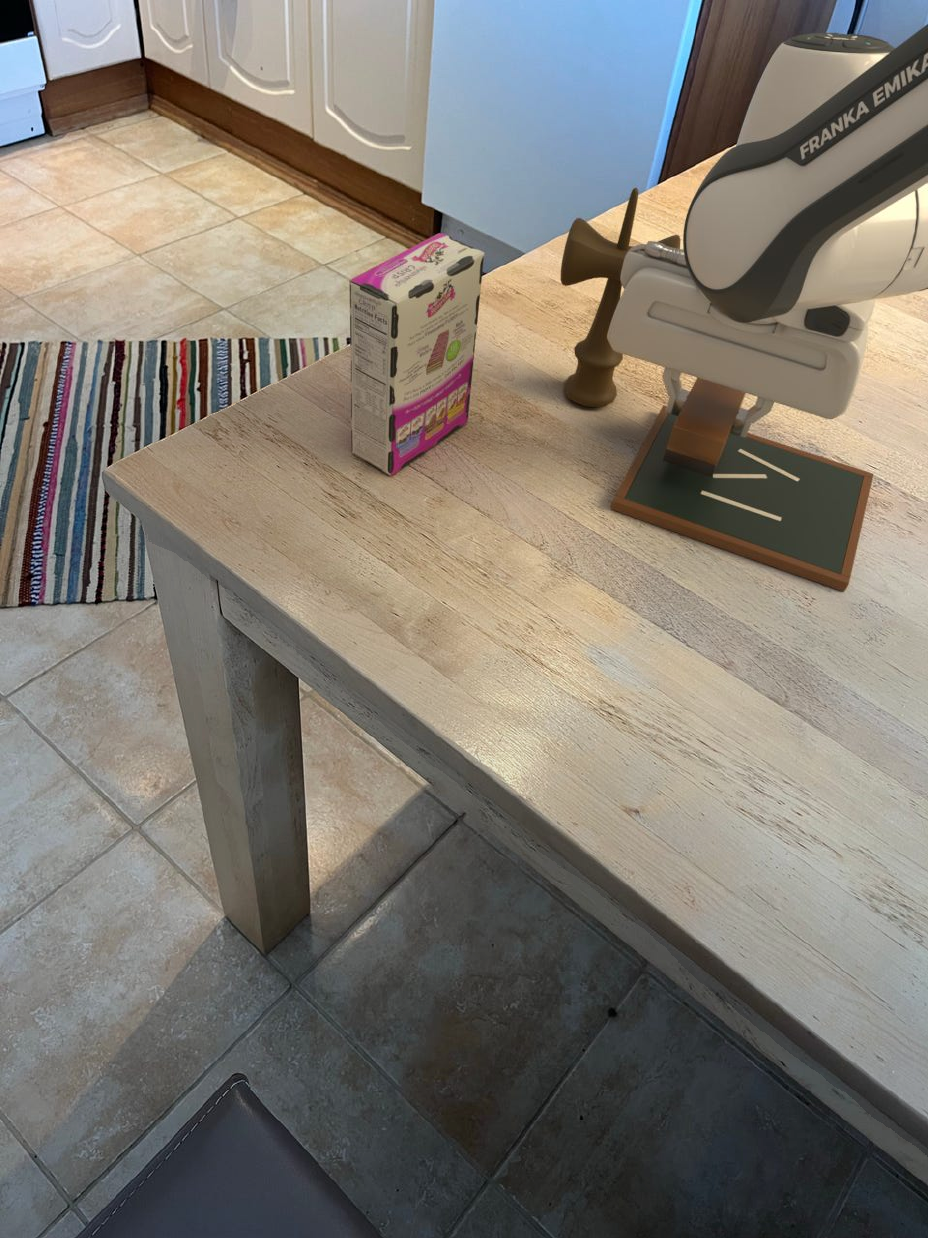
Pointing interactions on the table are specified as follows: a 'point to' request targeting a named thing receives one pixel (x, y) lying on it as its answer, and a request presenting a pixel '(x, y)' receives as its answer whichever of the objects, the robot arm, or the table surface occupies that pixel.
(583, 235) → the kendama
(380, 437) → the candy bar box
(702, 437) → the eraser
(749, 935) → the table surface
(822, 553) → the chalkboard
